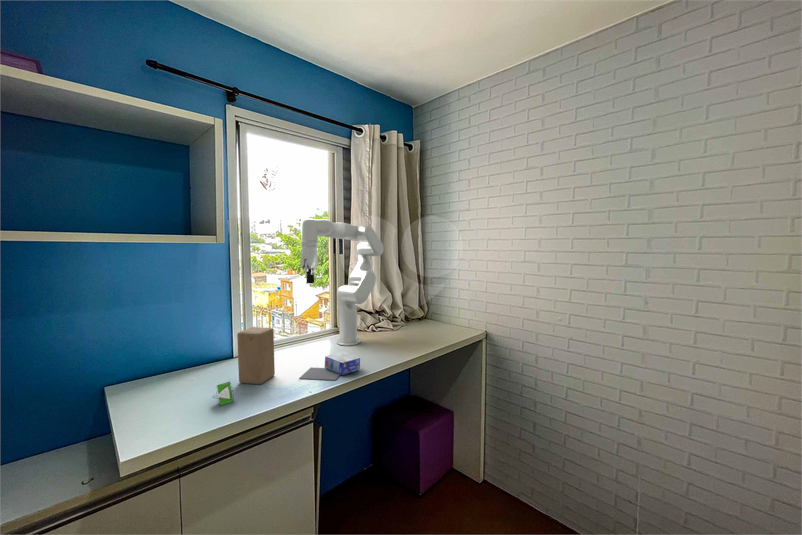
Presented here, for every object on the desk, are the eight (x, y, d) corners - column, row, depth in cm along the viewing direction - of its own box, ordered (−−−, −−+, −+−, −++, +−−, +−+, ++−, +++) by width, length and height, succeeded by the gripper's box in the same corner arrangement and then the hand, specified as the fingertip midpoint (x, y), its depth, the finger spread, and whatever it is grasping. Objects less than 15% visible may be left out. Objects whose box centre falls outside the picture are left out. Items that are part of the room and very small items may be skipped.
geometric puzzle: (208, 395, 116) (213, 380, 112) (229, 388, 121) (234, 374, 118) (215, 412, 113) (220, 398, 109) (236, 405, 118) (242, 391, 114)
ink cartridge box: (324, 369, 145) (345, 377, 135) (324, 356, 145) (345, 363, 135) (342, 363, 152) (364, 371, 143) (342, 351, 152) (364, 357, 142)
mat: (310, 368, 147) (310, 367, 147) (344, 369, 145) (344, 368, 145) (299, 379, 135) (299, 378, 135) (335, 380, 133) (335, 379, 133)
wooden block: (261, 385, 129) (259, 333, 128) (237, 383, 131) (236, 332, 130) (275, 375, 139) (274, 327, 138) (254, 373, 141) (252, 326, 140)
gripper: (308, 245, 170) (309, 281, 171) (295, 244, 155) (296, 284, 156) (322, 244, 169) (323, 281, 170) (311, 244, 154) (312, 285, 156)
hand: (310, 283), depth 163 cm, fingers closed
